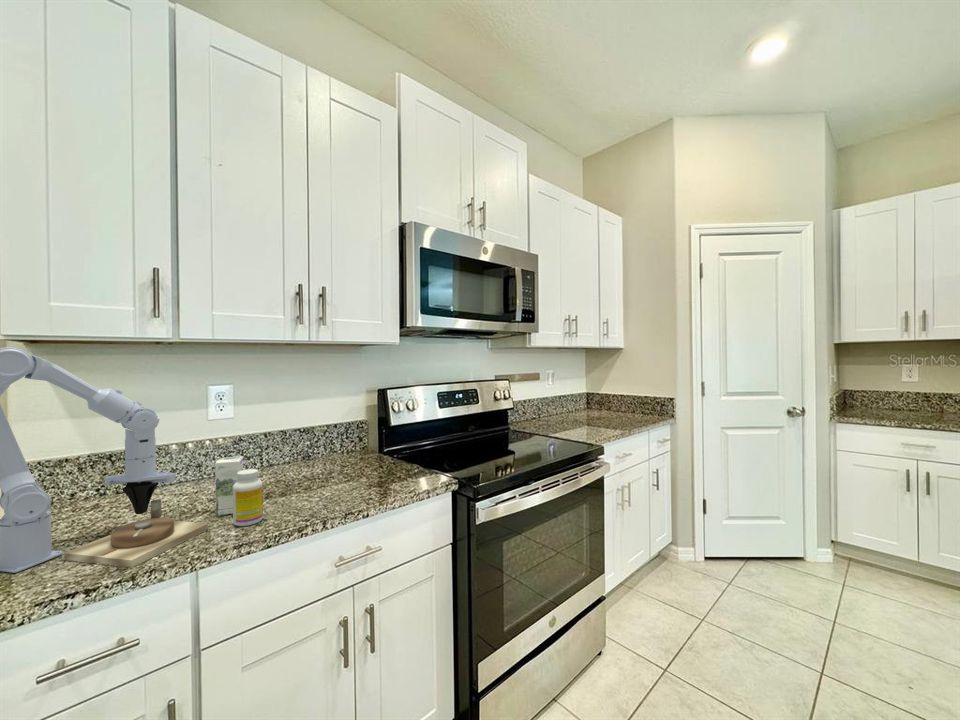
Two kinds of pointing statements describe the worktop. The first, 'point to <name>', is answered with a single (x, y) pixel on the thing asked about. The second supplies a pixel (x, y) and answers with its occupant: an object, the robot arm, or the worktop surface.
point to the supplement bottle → (247, 498)
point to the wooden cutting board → (135, 555)
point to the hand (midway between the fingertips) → (141, 512)
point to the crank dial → (143, 529)
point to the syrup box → (226, 483)
